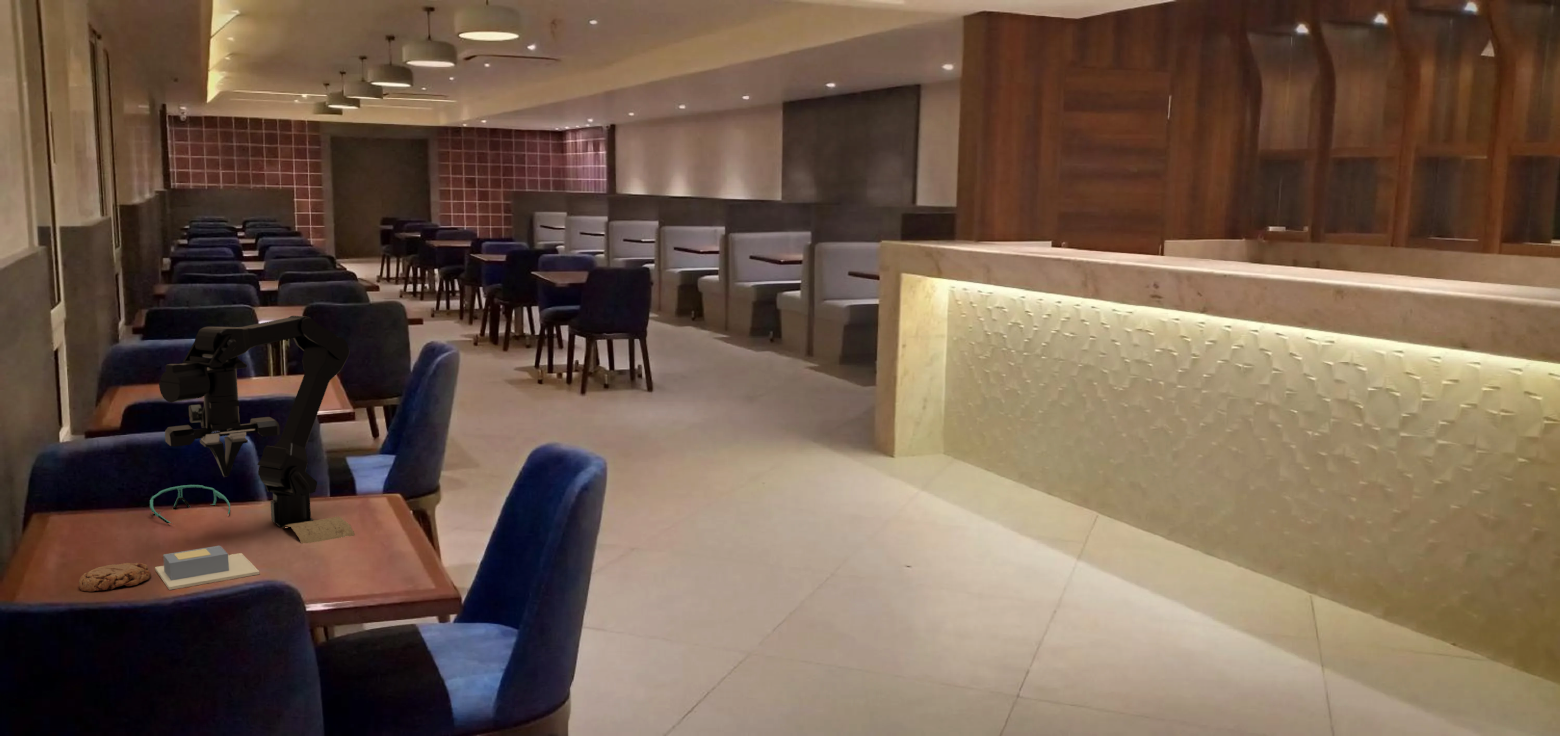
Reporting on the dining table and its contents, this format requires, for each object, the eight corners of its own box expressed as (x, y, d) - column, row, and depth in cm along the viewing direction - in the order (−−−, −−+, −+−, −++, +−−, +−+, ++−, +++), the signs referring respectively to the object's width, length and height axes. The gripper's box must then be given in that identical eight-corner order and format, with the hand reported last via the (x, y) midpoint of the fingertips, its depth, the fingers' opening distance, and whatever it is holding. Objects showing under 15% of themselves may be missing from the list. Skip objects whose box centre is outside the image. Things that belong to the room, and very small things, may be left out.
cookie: (65, 589, 191) (64, 571, 190) (124, 571, 200) (122, 554, 200) (106, 598, 187) (105, 580, 186) (164, 579, 196) (163, 562, 196)
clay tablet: (356, 538, 222) (356, 525, 221) (302, 548, 215) (302, 534, 215) (331, 522, 233) (330, 509, 232) (279, 531, 226) (278, 518, 226)
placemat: (241, 555, 209) (241, 552, 208) (259, 573, 198) (259, 571, 198) (155, 569, 200) (154, 566, 200) (169, 589, 190) (169, 586, 190)
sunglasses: (215, 502, 246) (215, 480, 245) (238, 524, 235) (238, 501, 234) (142, 513, 236) (141, 490, 235) (163, 536, 226) (162, 512, 225)
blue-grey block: (220, 544, 203) (163, 553, 197) (228, 553, 198) (169, 562, 193) (221, 561, 203) (164, 571, 198) (229, 570, 199) (171, 580, 193)
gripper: (262, 384, 226) (267, 461, 228) (156, 393, 214) (162, 474, 217) (278, 392, 217) (282, 472, 219) (168, 401, 206) (174, 486, 208)
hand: (225, 476), depth 216 cm, fingers closed
